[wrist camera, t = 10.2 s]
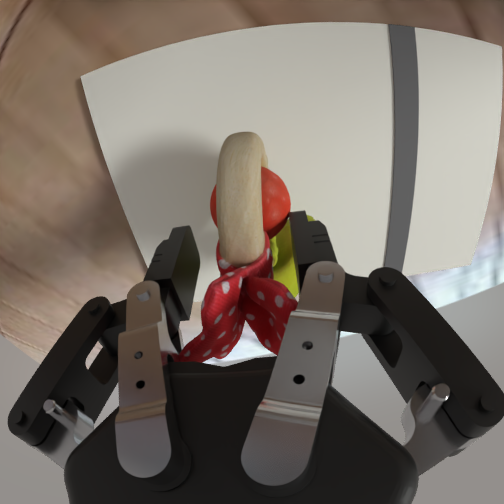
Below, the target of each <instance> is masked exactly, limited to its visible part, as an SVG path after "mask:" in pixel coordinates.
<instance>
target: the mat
mask: <svg viewBox="0 0 504 504" xmlns="http://www.w3.org/2000/svg"><path fill="white" fill-rule="evenodd" d="M80 77H81V80H82V84H83V88H84V92H85V96H86V99H87V103H88V106H89V110H90V113H91V117H92V120H93V123H94V127H95V130H96V133H97V136H98V139H99V143H100V146H101V149H102V152H103V155H104V158H105V161H106V164H107V166H108V169H109V172H110V175H111V178H112V180H113V183H114V186H115V189H116V191H117V194H118V197H119V199H120V202H121V205H122V207H123V210H124V212H125V215H126V217H127V220H128V222H129V225H130V227H131V230H132V232H133V235H134V237H135V239H136V242H137V244H138V246H139V249H140V251H141V253H142V256H143V258H144V260H145V262H146V265H147V267H148V268H149V265H150V263H151V260H152V258H153V256H154V253H155V250H156V248H157V246H158V245H159V244H160V243H161V242H162V241H163V240H167V239H169V236H170V233H171V231H172V229H173V228H174V227H181V226H188V225H189V226H190V227H191V229H192V232H193V235H194V239H195V242H196V245H197V248H198V251H199V255H200V269H199V274H198V279H197V284H196V289H195V294H194V299H193V302H199V301H203V298H204V296H205V293H206V291H207V288H208V286H209V284H210V283H211V282H212V281H214V280H215V279H217V278H219V277H220V271H219V269H218V265H217V260H216V246H217V243H218V240H219V235H218V228H217V227H216V225H215V224H214V222H213V219H212V216H211V211H210V199H211V194H212V191H213V189H214V187H215V185H216V179H217V167H218V160H219V154H220V150H221V147H222V145H223V142H224V141H225V139H226V138H227V137H228V136H229V135H231V134H234V133H238V132H253V133H255V134H257V135H258V136H259V137H260V138H261V139H262V141H263V144H264V147H265V152H266V155H267V158H268V169H269V170H271V171H272V172H274V173H275V174H277V175H278V176H279V177H280V178H281V179H282V180H283V182H284V183H285V185H286V187H287V190H288V192H289V195H290V201H291V210H290V212H294V211H303V210H305V211H306V215H309V216H312V217H313V218H314V219H315V220H319V221H320V222H321V223H323V224H324V225H325V226H326V229H327V232H328V235H329V237H330V241H331V243H332V246H333V250H334V253H335V256H336V259H337V262H338V264H339V265H340V266H342V267H343V269H344V270H345V272H346V273H348V274H351V275H354V276H361V277H369V274H370V273H371V272H372V271H373V270H375V269H377V268H381V267H390V268H394V269H396V270H398V271H400V272H401V273H402V274H403V275H404V276H410V275H416V274H422V273H428V272H434V271H440V270H445V269H451V268H456V267H462V266H467V265H471V262H472V259H473V256H474V253H475V250H476V246H477V243H478V239H479V236H480V232H481V229H482V225H483V221H484V217H485V213H486V209H487V205H488V200H489V196H490V191H491V186H492V181H493V175H494V169H495V163H496V157H497V149H498V142H499V133H500V122H501V108H502V46H498V45H495V44H492V43H488V42H485V41H481V40H477V39H473V38H469V37H465V36H461V35H456V34H451V33H446V32H441V31H435V30H429V29H423V28H416V27H410V26H401V25H392V24H377V23H358V22H314V23H295V24H282V25H272V26H263V27H255V28H247V29H241V30H234V31H229V32H223V33H218V34H213V35H208V36H203V37H198V38H194V39H190V40H186V41H182V42H178V43H174V44H170V45H167V46H163V47H160V48H156V49H153V50H150V51H146V52H143V53H140V54H137V55H134V56H131V57H128V58H125V59H123V60H120V61H117V62H114V63H112V64H109V65H107V66H104V67H101V68H99V69H97V70H94V71H92V72H89V73H87V74H85V75H82V76H80ZM288 219H289V218H288Z"/></svg>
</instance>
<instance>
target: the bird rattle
mask: <svg viewBox="0 0 504 504" xmlns="http://www.w3.org/2000/svg"><path fill="white" fill-rule="evenodd" d="M290 210H291V201H290V195H289V192H288V190H287V187H286V185H285V183H284V182H283V180H282V179H281V178H280V177H279V176H278V175H277V174H275V173H274V172H272V171H271V170H269V169H268V158H267V155H266V152H265V147H264V144H263V141H262V139H261V138H260V137H259V136H258V135H257V134H255V133H253V132H238V133H234V134H231V135H229V136H228V137H227V138H226V139H225V141H224V142H223V145H222V147H221V150H220V154H219V160H218V167H217V179H216V185H215V187H214V189H213V191H212V194H211V199H210V211H211V216H212V219H213V222H214V224H215V225H216V227H217V228H218V235H219V240H218V243H217V246H216V260H217V265H218V269H219V271H220V277H219V278H217V279H215V280H214V281H212V282H211V283H210V284H209V286H208V288H207V291H206V293H205V296H204V298H203V301H202V305H201V320H202V326H203V330H202V332H201V333H200V334H199V335H198V336H197V337H195V338H194V339H193V340H192V341H190V342H189V343H188V344H187V345H186V346H185V347H184V348H183V349H182V351H181V352H180V354H179V358H180V361H181V362H192V361H196V362H201V363H202V362H204V361H206V360H208V359H210V358H212V357H215V358H217V359H222V358H224V357H226V356H227V355H228V354H229V353H230V352H231V350H232V349H233V348H234V346H235V345H236V344H237V342H238V341H239V339H240V337H241V334H242V331H243V327H244V323H245V320H246V321H247V323H248V324H249V326H250V327H251V329H252V331H253V332H255V334H256V336H257V338H258V339H259V341H260V342H261V344H262V345H263V346H264V347H265V348H267V349H268V350H269V351H271V352H273V353H274V354H276V355H277V356H278V353H279V349H280V346H281V343H282V340H283V336H284V333H285V330H286V326H287V323H288V320H289V316H290V314H291V312H292V311H296V308H297V305H298V302H297V301H296V299H295V297H296V296H297V294H298V293H299V291H298V284H297V277H296V271H295V264H294V258H293V251H292V242H291V232H290V223H289V219H288V218H289V212H290ZM307 219H308V221H316V220H315V219H314V218H313V217H312V216H309V215H307Z"/></svg>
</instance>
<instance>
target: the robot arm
mask: <svg viewBox="0 0 504 504" xmlns="http://www.w3.org/2000/svg"><path fill="white" fill-rule="evenodd" d="M289 223H290V232H291V242H292V251H293V258H294V264H295V271H296V277H297V284H298V291H299V301H298V305H297V308H296V311H292V312H291V314H290V316H289V320H288V323H287V326H286V330H285V333H284V336H283V340H282V343H281V346H280V349H279V353H278V356H274V357H263V358H254V359H251V360H248V361H244V362H241V363H237V364H234V365H230V366H226V367H221V366H216V365H211V364H206V363H201V362H196V361H192V362H181V361H180V358H179V354H180V352H181V351H182V349H183V348H184V344H183V339H182V333H181V330H180V328H179V324H180V321H186V320H189V319H190V314H191V309H192V304H193V299H194V294H195V289H196V284H197V279H198V274H199V269H200V255H199V251H198V248H197V245H196V242H195V239H194V235H193V232H192V229H191V227H190V226H189V225H188V226H181V227H174V228H173V229H172V231H171V233H170V236H169V239H167V240H163V241H162V242H161V243H160V244H159V245H158V246H157V248H156V250H155V253H154V256H153V258H152V260H151V263H150V265H149V268H148V270H147V273H146V275H145V278H144V281H143V282H140V283H138V284H136V285H135V286H134V287H132V288H131V289H130V291H129V292H128V294H127V299H125V300H123V301H120V302H117V303H114V304H110V302H109V300H108V299H107V298H106V297H102V296H101V297H95V298H93V299H91V300H89V301H88V302H87V303H86V304H85V305H84V306H83V307H82V309H81V310H80V311H79V312H78V314H77V315H76V316H75V318H74V319H73V320H72V322H71V323H70V324H69V326H68V327H67V328H66V330H65V331H64V332H63V334H62V335H61V336H60V338H59V339H58V340H57V342H56V343H55V345H54V346H53V347H52V349H51V350H50V352H49V353H48V354H47V356H46V357H45V359H44V360H43V362H42V363H41V365H40V366H39V368H38V369H37V371H36V372H35V374H34V375H33V376H32V378H31V379H30V381H29V382H28V384H27V386H26V387H25V389H24V390H23V392H22V393H21V395H20V397H19V398H18V400H17V401H16V403H15V405H14V406H13V408H12V409H11V411H10V413H9V416H8V427H9V430H10V431H11V433H13V434H14V435H15V436H17V437H18V438H20V439H21V440H23V441H25V442H26V443H27V444H28V445H29V446H31V447H32V448H34V449H36V450H37V451H39V452H41V453H42V454H44V455H46V456H48V457H49V458H50V459H51V460H53V461H54V462H55V463H56V464H58V465H59V466H60V467H61V468H63V469H64V480H65V485H66V489H67V492H68V497H69V503H70V504H411V503H412V501H413V499H414V496H415V494H416V491H417V487H418V480H419V478H418V477H419V475H421V474H423V473H424V472H426V471H427V470H429V469H430V468H432V467H433V466H435V465H436V464H438V463H439V462H441V461H442V460H444V459H445V458H446V457H448V456H449V457H450V456H454V455H457V454H458V453H460V452H461V451H463V450H464V449H465V448H467V447H468V446H470V445H471V444H472V443H474V442H475V441H476V440H477V439H479V438H480V437H481V436H483V435H484V434H485V433H486V432H487V431H489V430H490V429H491V428H492V427H494V426H495V425H496V424H497V423H498V422H499V421H500V420H501V419H502V418H503V416H504V393H503V392H502V390H501V389H500V387H499V386H498V385H497V383H496V382H495V381H494V379H493V378H492V377H491V375H490V374H489V373H488V371H487V370H486V369H485V368H484V366H483V365H482V364H481V363H480V361H479V360H478V359H477V358H476V356H475V355H474V354H473V353H472V351H471V350H470V349H469V348H468V346H467V345H466V344H465V343H464V342H463V340H462V339H461V338H460V337H459V336H458V334H457V333H456V332H455V331H454V330H453V329H452V327H451V326H450V325H449V324H448V323H447V322H446V321H445V319H444V318H443V317H442V316H441V315H440V314H439V313H438V311H437V310H436V309H435V308H434V307H433V306H432V305H431V304H430V303H429V301H428V300H427V299H426V298H425V297H424V296H423V295H422V294H421V293H420V292H419V291H418V289H417V288H416V287H415V286H414V285H413V284H412V283H411V282H410V281H409V280H408V279H407V278H406V277H405V276H404V275H403V274H402V273H401V272H400V271H398V270H396V269H394V268H390V267H381V268H377V269H375V270H373V271H372V272H371V273H370V274H369V277H361V276H354V275H351V274H348V273H346V272H345V270H344V269H343V267H342V266H340V265H339V264H338V262H337V259H336V256H335V253H334V250H333V246H332V243H331V241H330V237H329V235H328V232H327V229H326V226H325V225H324V224H323V223H321V222H320V221H319V220H316V221H308V219H307V215H306V211H305V210H303V211H294V212H289ZM341 331H345V332H353V333H361V334H362V336H363V338H364V339H365V341H366V342H367V344H368V345H369V347H370V348H371V350H372V351H373V353H374V354H375V356H376V357H377V359H378V360H379V362H380V363H381V365H382V366H383V368H384V369H385V371H386V372H387V374H388V375H389V377H390V378H391V380H392V382H393V383H394V385H395V386H396V388H397V389H398V391H399V392H400V394H401V395H402V397H403V399H404V400H405V402H406V403H407V405H406V407H405V408H404V410H403V413H402V417H401V421H402V425H403V428H404V430H405V442H404V445H403V446H402V445H401V444H400V443H399V442H397V441H396V440H395V439H394V438H392V437H391V436H390V435H389V434H388V433H386V432H385V431H384V430H383V429H382V428H380V427H379V426H378V425H377V424H376V423H374V422H373V421H372V420H371V419H369V418H368V417H367V416H366V415H365V414H363V413H362V412H361V411H360V410H359V409H358V408H357V407H355V406H354V405H353V404H352V403H350V402H349V401H348V400H347V399H346V398H345V397H344V396H342V395H341V394H340V393H339V392H338V391H337V390H336V389H335V388H333V387H332V383H333V377H334V370H335V364H336V357H337V352H338V345H339V339H340V333H341ZM97 341H99V343H100V344H101V345H102V346H103V348H102V349H101V351H100V352H99V354H98V355H97V357H96V358H95V360H94V361H93V363H92V364H91V366H90V368H89V369H87V368H86V365H85V362H86V358H87V356H88V355H89V353H90V352H91V350H92V349H93V347H94V346H95V344H96V343H97ZM117 383H118V386H119V406H118V407H117V408H116V409H115V410H114V411H113V412H112V413H111V414H110V415H109V416H108V417H107V418H106V419H105V420H104V421H103V422H102V423H101V424H100V425H99V426H98V427H96V428H95V429H94V423H95V421H96V420H97V418H98V416H99V414H100V413H101V411H102V409H103V407H104V406H105V404H106V402H107V400H108V398H109V397H110V395H111V393H112V392H113V390H114V388H115V387H116V385H117Z"/></svg>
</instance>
